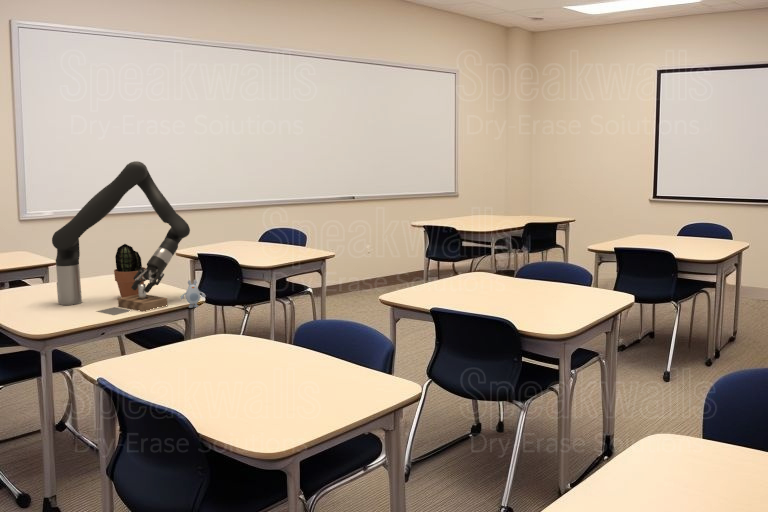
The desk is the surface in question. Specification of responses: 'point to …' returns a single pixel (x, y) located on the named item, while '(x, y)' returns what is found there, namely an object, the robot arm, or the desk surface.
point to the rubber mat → (114, 311)
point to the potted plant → (127, 270)
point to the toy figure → (192, 294)
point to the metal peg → (141, 291)
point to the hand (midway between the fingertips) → (139, 290)
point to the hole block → (142, 302)
